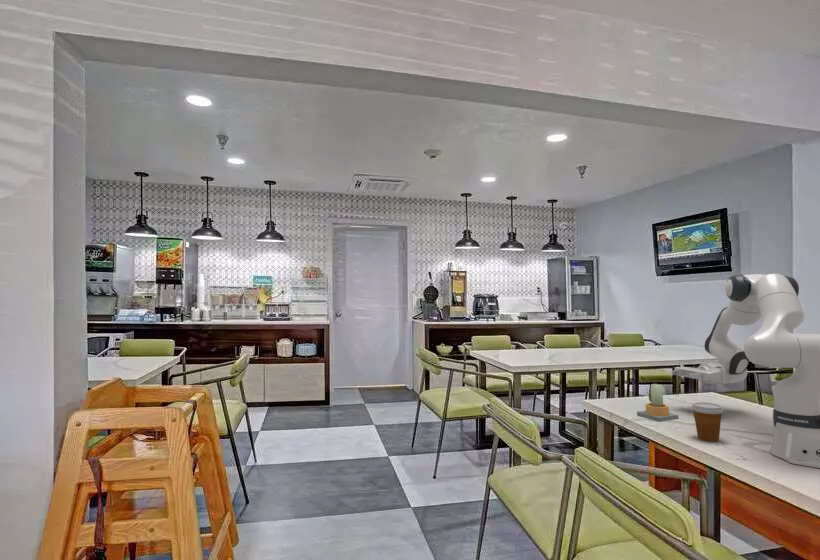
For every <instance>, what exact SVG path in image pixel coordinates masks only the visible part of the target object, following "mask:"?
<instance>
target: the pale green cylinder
mask: <svg viewBox="0 0 820 560" xmlns="http://www.w3.org/2000/svg"><path fill="white" fill-rule="evenodd" d="M650 388H651V402H650V403H651V406H654V407H663V404H664V392H663V391H664V389H663V384H658V383H652V384H650Z"/></svg>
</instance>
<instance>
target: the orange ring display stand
mask: <svg viewBox="0 0 820 560" xmlns="http://www.w3.org/2000/svg"><path fill="white" fill-rule="evenodd" d="M636 415H637V416H639V417H642V418H645V419H648V420H652V421H657V422H665V421H671V420H678V419H679V414H676V413H671V412H670V408H669V404H665V403H663V407H654V406H651V402H647V403H645V410H640V411H636Z"/></svg>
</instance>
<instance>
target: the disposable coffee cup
mask: <svg viewBox="0 0 820 560" xmlns="http://www.w3.org/2000/svg"><path fill="white" fill-rule="evenodd" d="M691 409H692V412H693V417H694V424H695V428H696V432H697V438H698V439H699V440H702V441H706V442H719V440H720V433H721V421H722V414H723V411H724V409H723V408H722V405H720V404H717V403H711V402H693V403H692V406H691Z"/></svg>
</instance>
